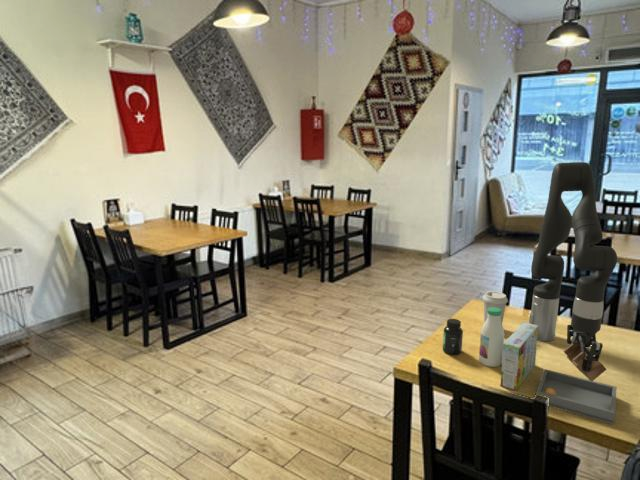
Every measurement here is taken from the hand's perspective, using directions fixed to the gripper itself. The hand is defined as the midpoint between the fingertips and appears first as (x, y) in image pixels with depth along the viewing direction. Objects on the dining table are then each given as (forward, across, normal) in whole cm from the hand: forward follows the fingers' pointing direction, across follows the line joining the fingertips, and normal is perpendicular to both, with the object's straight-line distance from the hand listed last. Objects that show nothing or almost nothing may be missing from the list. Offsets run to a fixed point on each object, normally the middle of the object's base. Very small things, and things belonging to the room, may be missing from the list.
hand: (580, 365), depth 137 cm
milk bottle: (+12, -24, -17) cm, 31 cm away
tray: (+11, 0, 0) cm, 11 cm away
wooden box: (+2, 0, +4) cm, 5 cm away
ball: (+9, 0, -8) cm, 12 cm away
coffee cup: (+12, -51, -5) cm, 53 cm away
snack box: (+12, -15, -11) cm, 22 cm away
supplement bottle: (+12, -33, -28) cm, 44 cm away
